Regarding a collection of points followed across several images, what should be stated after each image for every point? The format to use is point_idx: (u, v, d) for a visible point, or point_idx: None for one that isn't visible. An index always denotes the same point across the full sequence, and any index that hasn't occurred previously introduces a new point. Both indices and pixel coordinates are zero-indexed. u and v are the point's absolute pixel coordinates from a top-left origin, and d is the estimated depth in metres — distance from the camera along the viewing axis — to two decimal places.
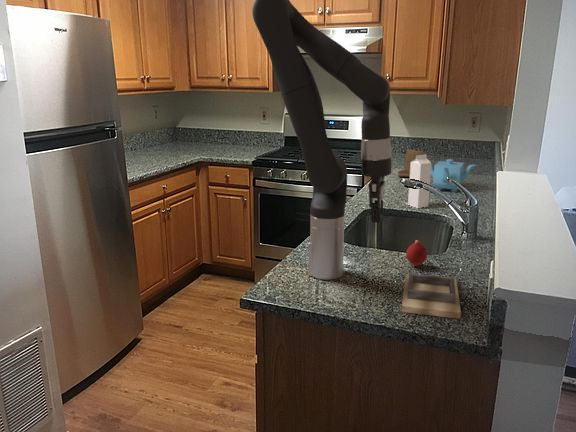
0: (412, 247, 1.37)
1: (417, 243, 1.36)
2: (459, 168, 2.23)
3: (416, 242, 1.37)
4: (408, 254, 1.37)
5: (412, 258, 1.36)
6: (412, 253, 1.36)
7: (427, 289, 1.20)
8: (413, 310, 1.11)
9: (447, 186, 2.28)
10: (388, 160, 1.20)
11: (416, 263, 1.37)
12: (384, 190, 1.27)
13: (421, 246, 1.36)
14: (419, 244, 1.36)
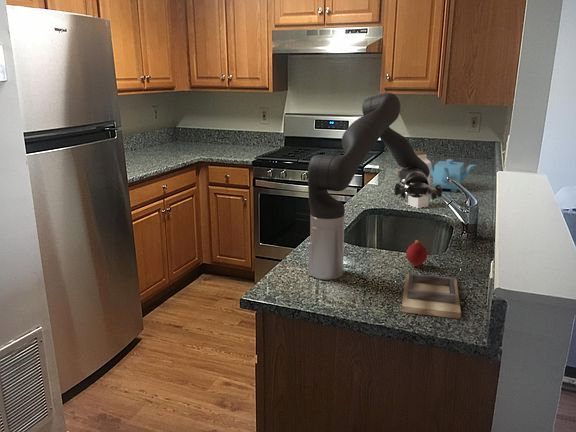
0: (412, 247, 1.37)
1: (417, 243, 1.36)
2: (459, 168, 2.23)
3: (416, 242, 1.37)
4: (408, 254, 1.37)
5: (412, 258, 1.36)
6: (412, 253, 1.36)
7: (427, 289, 1.20)
8: (413, 310, 1.11)
9: (447, 186, 2.28)
10: None
11: (416, 263, 1.37)
12: (408, 195, 1.51)
13: (421, 246, 1.36)
14: (419, 244, 1.36)
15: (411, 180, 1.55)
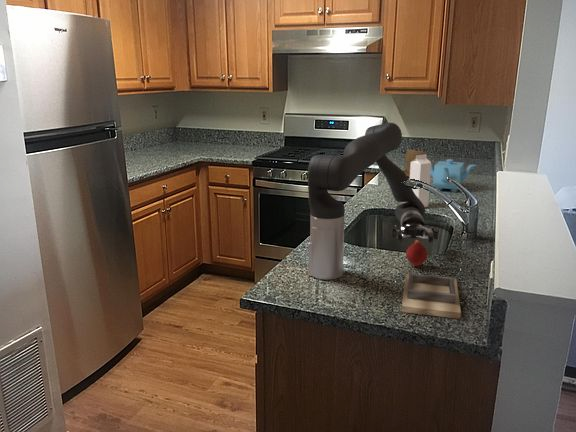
0: (412, 247, 1.37)
1: (417, 243, 1.36)
2: (459, 168, 2.23)
3: (416, 242, 1.37)
4: (408, 254, 1.37)
5: (412, 258, 1.36)
6: (412, 253, 1.36)
7: (427, 289, 1.20)
8: (413, 310, 1.11)
9: (447, 186, 2.28)
10: None
11: (416, 263, 1.37)
12: (404, 236, 1.52)
13: (421, 246, 1.36)
14: (419, 244, 1.36)
15: (407, 221, 1.55)
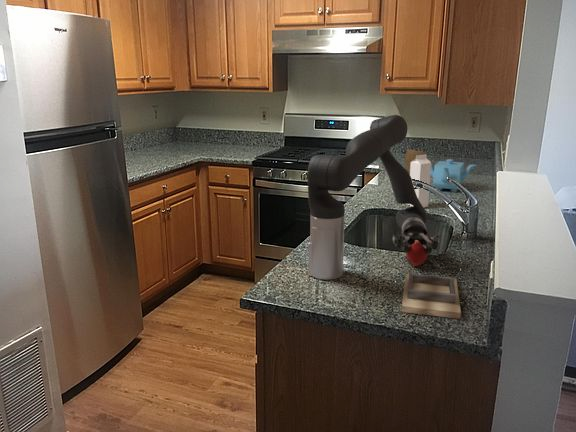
0: (412, 247, 1.37)
1: (417, 243, 1.36)
2: (459, 168, 2.23)
3: (416, 242, 1.37)
4: (408, 254, 1.37)
5: (412, 258, 1.36)
6: (412, 253, 1.36)
7: (427, 289, 1.20)
8: (413, 310, 1.11)
9: (447, 186, 2.28)
10: None
11: (416, 263, 1.37)
12: None
13: (421, 246, 1.36)
14: (419, 244, 1.36)
15: (409, 229, 1.46)
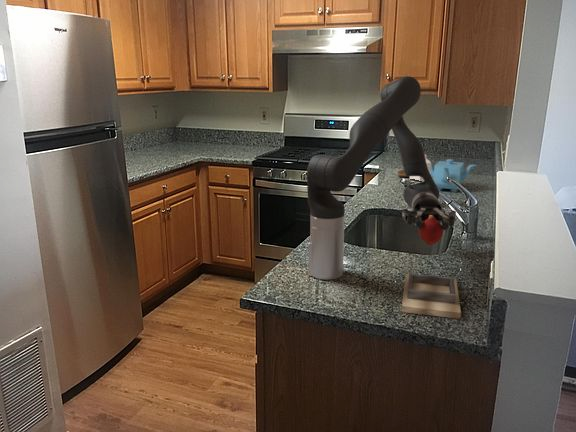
0: (426, 223, 1.19)
1: (431, 218, 1.19)
2: (459, 168, 2.23)
3: (430, 217, 1.19)
4: (421, 231, 1.19)
5: (426, 235, 1.18)
6: (426, 230, 1.18)
7: (427, 289, 1.20)
8: (413, 310, 1.11)
9: (447, 186, 2.28)
10: None
11: (430, 241, 1.19)
12: None
13: (436, 222, 1.18)
14: (434, 219, 1.19)
15: (421, 204, 1.28)
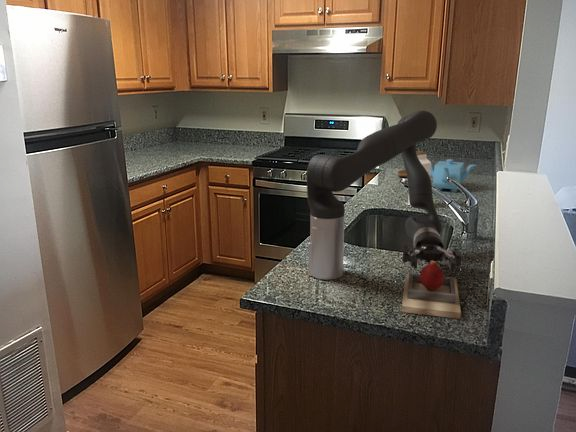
0: (427, 269, 1.17)
1: (433, 264, 1.17)
2: (459, 168, 2.23)
3: (432, 263, 1.17)
4: (422, 277, 1.17)
5: (427, 282, 1.16)
6: (427, 276, 1.16)
7: None
8: (413, 310, 1.11)
9: (447, 186, 2.28)
10: None
11: (431, 287, 1.17)
12: None
13: (437, 268, 1.16)
14: (435, 265, 1.17)
15: (422, 242, 1.26)
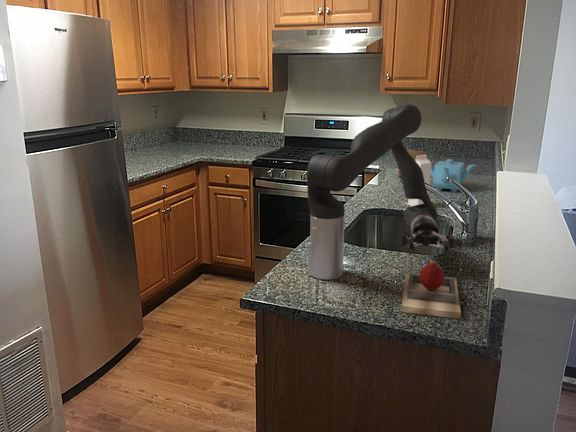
0: (426, 269, 1.17)
1: (432, 264, 1.17)
2: (459, 168, 2.23)
3: (431, 263, 1.17)
4: (422, 277, 1.17)
5: (427, 282, 1.16)
6: (427, 276, 1.16)
7: None
8: (413, 310, 1.11)
9: (447, 186, 2.28)
10: None
11: (431, 288, 1.17)
12: None
13: (437, 268, 1.16)
14: (435, 265, 1.17)
15: (419, 227, 1.38)
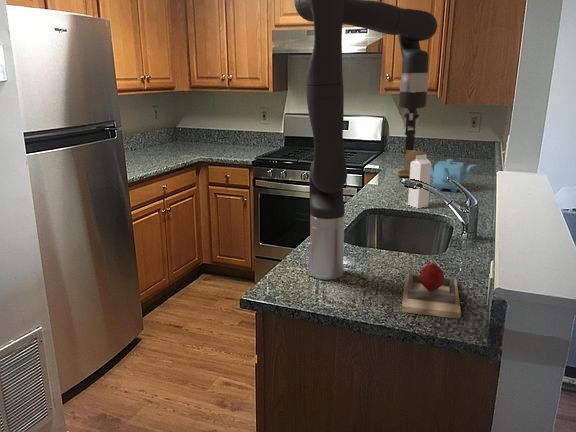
0: (427, 269, 1.17)
1: (432, 265, 1.17)
2: (459, 168, 2.23)
3: (431, 263, 1.17)
4: (422, 277, 1.17)
5: (427, 282, 1.16)
6: (427, 276, 1.16)
7: None
8: (413, 310, 1.11)
9: (447, 186, 2.28)
10: (425, 93, 1.32)
11: (431, 288, 1.17)
12: (417, 124, 1.39)
13: (437, 268, 1.16)
14: (435, 266, 1.17)
15: None
